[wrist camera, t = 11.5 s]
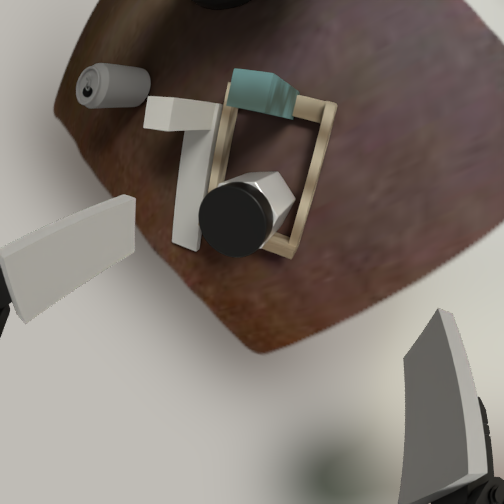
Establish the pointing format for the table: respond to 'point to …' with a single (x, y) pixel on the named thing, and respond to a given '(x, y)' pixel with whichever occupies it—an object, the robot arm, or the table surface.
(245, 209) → the jar
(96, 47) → the table surface
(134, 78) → the can
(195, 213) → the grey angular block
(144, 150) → the table surface
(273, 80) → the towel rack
